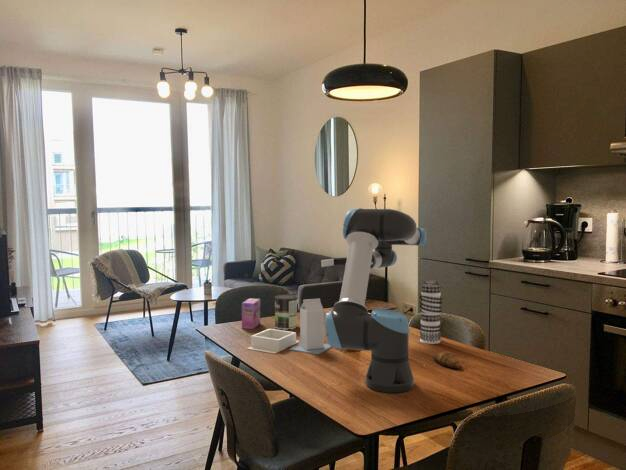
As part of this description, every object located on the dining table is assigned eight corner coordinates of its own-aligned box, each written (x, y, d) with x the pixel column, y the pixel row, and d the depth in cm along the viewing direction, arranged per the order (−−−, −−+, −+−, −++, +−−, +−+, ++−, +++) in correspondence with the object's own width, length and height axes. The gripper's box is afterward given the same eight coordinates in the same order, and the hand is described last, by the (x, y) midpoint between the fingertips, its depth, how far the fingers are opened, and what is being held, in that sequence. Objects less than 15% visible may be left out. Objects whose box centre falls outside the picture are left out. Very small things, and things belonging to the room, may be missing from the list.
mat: (318, 354, 198) (318, 353, 198) (288, 349, 205) (288, 348, 205) (333, 345, 210) (333, 345, 210) (305, 341, 216) (305, 340, 216)
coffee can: (277, 330, 233) (277, 299, 232) (272, 325, 243) (272, 295, 242) (300, 328, 236) (300, 297, 235) (294, 323, 246) (293, 293, 245)
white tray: (274, 353, 199) (274, 342, 199) (246, 349, 206) (246, 337, 205) (300, 341, 216) (299, 330, 216) (273, 337, 222) (273, 326, 222)
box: (253, 329, 236) (253, 303, 235) (241, 328, 237) (241, 302, 236) (260, 323, 246) (260, 298, 245) (249, 323, 247) (248, 298, 246)
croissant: (466, 369, 182) (467, 355, 182) (451, 371, 180) (451, 357, 179) (442, 358, 195) (442, 344, 194) (427, 360, 192) (427, 347, 192)
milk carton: (323, 348, 205) (323, 300, 204) (306, 350, 203) (306, 301, 201) (316, 343, 212) (316, 296, 210) (300, 345, 209) (300, 298, 208)
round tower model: (414, 340, 217) (414, 280, 215) (427, 336, 223) (428, 278, 221) (432, 345, 210) (433, 283, 208) (446, 341, 217) (447, 280, 215)
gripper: (391, 272, 216) (357, 278, 202) (347, 266, 234) (312, 271, 220) (391, 254, 216) (357, 258, 201) (347, 249, 234) (312, 253, 219)
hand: (333, 265), depth 210 cm, fingers open, 13 cm apart
